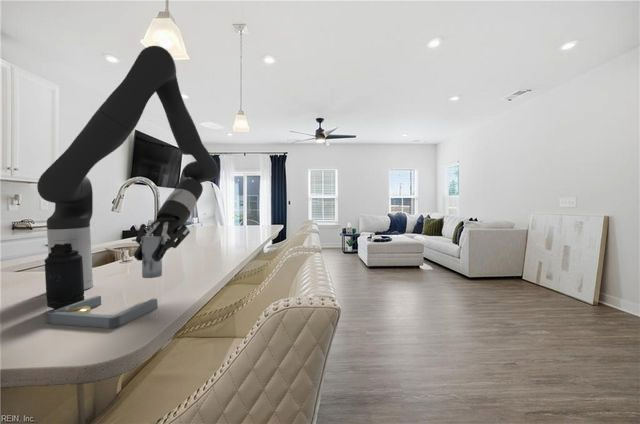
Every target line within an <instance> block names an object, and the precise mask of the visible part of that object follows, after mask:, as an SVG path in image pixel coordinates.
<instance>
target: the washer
mask: <svg viewBox="0 0 640 424" xmlns="http://www.w3.org/2000/svg"><path fill="white" fill-rule="evenodd" d="M91 309H92V308H90V307H88V306H83V307H76V308H73V309H70V310H68V311H67V312H71V313H86V314H92V310H91Z"/></svg>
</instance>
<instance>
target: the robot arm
mask: <svg viewBox="0 0 640 424" xmlns="http://www.w3.org/2000/svg"><path fill="white" fill-rule="evenodd" d="M177 77H178V76H177V67H176V63H175V59H174V58H173V56H172V54H171V53H170V52H169V51H168V49H166V48H164V47H163V46H160V45H150V46H147V47H144V49H142V50H141V51H140V52H139V54H138V56H137V57H136V59H135V61H134V62H133V64H132V66H131V67H130V69H129V71H128V72H127V74H126V75H125V77H124V78H123V80H122V81H121V82H120V84H119V85H118V86H117V87H116V88H115V89H113V91H112V92H111V93H110V95H109V96H108V97H107V98H106V99H105V101H104V102H103V103H102V104H101V105H100V106H99V107H98V109H97V110H96V111H95V112H94V113H93V115H92V116H91V117H90V119H89V120H88V122H87V123H86V125H85V126H84V127H83V129H82V130H81V131H80V132H79V133H78V135H77V136H76V137H75V138H74V140H73V141H72V142H71V144H70V145H69V146H68V147H67V148H66V150H65V151H64V152H63V153H62V154H61V155H60V156H59V157H57V159H56V160H54V162H53V163H52V164H51V165H50V166H49V167H48V168H47V169H46V170H45V171H44V172H43V173H42V174H41V175H40V177H39V179H38V181H37V186H36V187H37V193H38V194H39V196H40V197H41V198H42V199H43V200H44V201H46V202H49V203H54V204H55V205H54V212H53V213H52V215H51V216H49V217H48V218H47V219H46V235H47V252H48V253H47V255H48V254H49V253H51V247H54V245H55V244H64V243H71V247H72V250H78V252H79V253H78V254H80V255H81V256H82V260H83V278H84V291H85V290H87V289H90V288H93V286H94V280H93V276H94V275H93V259H92V258H93V257H92V241H91V240H92V239H91V219H92V217H93V211H94V208H93V207H94V206H93V205H94V204H93V203H94V202H93V201H94V200H93V198H94V197H93V196H94V195H93V194H94V193H93V186H92V182H91V180H90V178H89V177H88V176H87V175H88V173H90V171H91V169H93V167H94V166H96V164H98V163H99V162H100V161H101V160H103V159H104V158H106V157H107V156H110V154H112V153H113V152H114V151H116V150H117V149H118V148H120V147H121V146H122V145H123V144H124V143H125V142H126V140H127V139H129V137H130V135H131V134H132V132H133V131H134V130H135V128H136V127H137V125H138V123H139V122H140V120H141V117H142V116H143V113H144V111H145V108H146V106H147V104H148V103H149V101H150V99H151V98H152V97H153V96H154V94H156V95H157V97H158V99H159V101H160V103H161V104H162V107H163V110H164V112H165V116H166V119H167V122H168V124H169V128H170V130H171V132H172V135H173V137H174V141H175V143H176V145H177V147H178V150H179V152H180V153H181V154H182V155H185V156H186V155H187V156H188V155H189V156H192V157H193V158H194V161H191V162H188V163H187V164H186V165H185V166H184V167H183V169H182V171H181V174H180V178H179V182H178V184H177V185H176V187H175V188H174V189H173V190H172V192H171V193H170V194H169V195H168V197H167V198H166V200H165V201H164V202H163V204H162V205H161V207H160V208H159V210H158V211H157V213H156V218H155V219H156V220H154V221H153V222H152V223H151V224H149V225H146V224H145V223H142V224H140V226H139V229H138V231H137V234H136V237H135V242H136V243H137V244H138V245H139V246H138V247H137V249H136V250H135V251H134V253H133V257H134V258H135V259H136V261H139V262H142V239H141V237H142V236H150V235H160V236H162V240H161V245H159V246H158V247H157V249H156V250H155V252H154V254H153V255H152V258H153V259H154V261H156V262H159V261H160V259H162V260H163V257H164V255H166V252H167V251H168V250H170V248H173V249H176V248H177V247H178V246H179V245H180V244H181V243H182V242H183V241H184V240H185V239H186V237H187V236H188V235H189V234H190V230H189V228H188V227H187V225H186V224H187V223H188V220H189V219H190V217H191V215H192V213H193V211H194V210H195V207H196V205H197V202H198V201H199V199H200V198H201V196H202V193H203V191H204V190H203V189H204V187H203V185H202V183H205V182H209V181H213V180H215V179H216V178H217V177H218V173H219V168H218V164H217V162H216V160H215V158H213V156H212V155H211V154H210V152H209V151H208V149H207V148H206V147H205V145H204V144H203V142H202V138H201V136H200V134H199V131H198V129H197V127H196V124H195V122H194V120H193V118H192V116H191V114H190V112H189V110H188V108H187V106H186V104H185V101H184V99H183V96H182V93H181V90H180V86H179V82H178V78H177ZM47 258H48V256H47V257H45V259H47Z"/></svg>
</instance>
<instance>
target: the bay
mask: <svg viewBox="0 0 640 424" xmlns="http://www.w3.org/2000/svg"><path fill="white" fill-rule="evenodd" d="M101 305H102V296H101V295H95V296H92V297H89V298H86V299H84V300H83V301H80V302H77V303H74V304H71V305H68V306H65V307H62V308H59V309H56V310H55V309H53V310H50V311H48V312H45V313H44V319H45V321H44V322H45V324H52V325H64V326H75V327H76V326H79V327H90V328H102V329H117V328H119V327H121V326H123V325H126V324H127V323H129V322H132V321H133V320H135V319H137V318H139V317H141V316H144V315H145V314H147V313H149V312H152V311H153V310H156V309H157V308H158V299H157V298H151V299H148V300H146V301H144V302H142V303H139V304H138V305H135V306H133V307H130V308H128V309H125V310H124V311H123V310H122V311H121V312H119V313H117V314H115V315H114V314H101V313H100V314H99V313H97V314H96V313H91V314H86V313H71V312H67V311H68V310H70V309H73V308H76V307H83V306H88V307H90V308H91V309H93V308H96V307H98V306H101Z"/></svg>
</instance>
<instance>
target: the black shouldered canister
mask: <svg viewBox="0 0 640 424" xmlns="http://www.w3.org/2000/svg"><path fill="white" fill-rule="evenodd" d="M78 253H79V252H78V250H72V247H71V243H64V244H55V245H54V247H51V253H49V254H48V253H47V257H48V258H47V259H46V258H45V259H44V275H45V294H46V301H47V302H46V306H47V307H48V308H51V309H53V310H56V309H59V308H62V307H65V306H68V305H71V304H74V303H77V302H80V301H83V300H85V290H84V278H83V260H82V256H81V255H80V254H78Z"/></svg>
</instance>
